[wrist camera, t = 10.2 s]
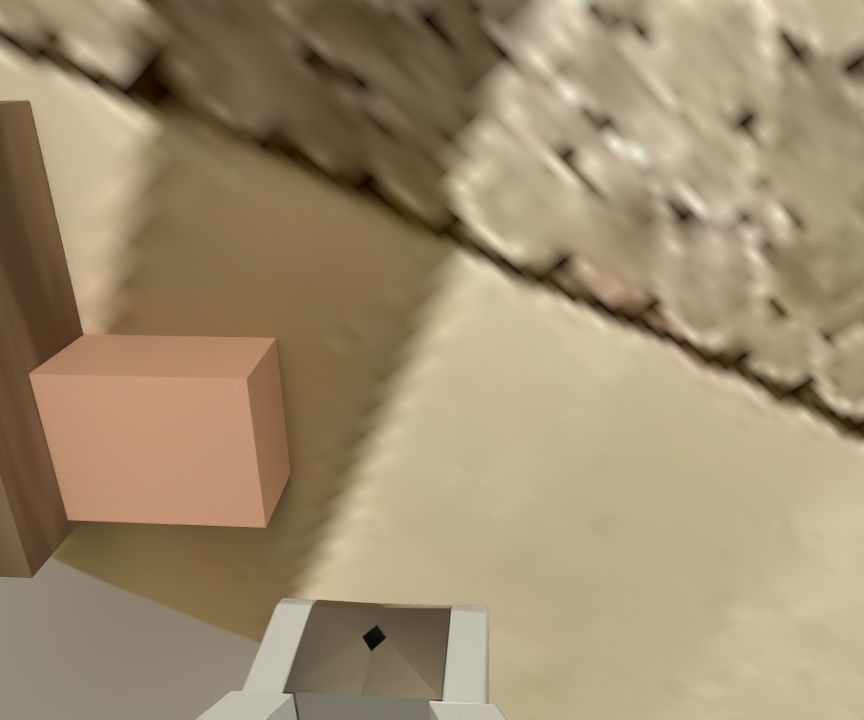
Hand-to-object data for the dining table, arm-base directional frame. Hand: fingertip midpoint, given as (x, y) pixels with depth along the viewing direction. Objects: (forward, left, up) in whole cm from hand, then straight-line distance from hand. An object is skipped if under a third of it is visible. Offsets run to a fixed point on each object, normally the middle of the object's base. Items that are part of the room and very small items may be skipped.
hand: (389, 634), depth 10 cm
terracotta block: (+14, +10, -25) cm, 30 cm away
